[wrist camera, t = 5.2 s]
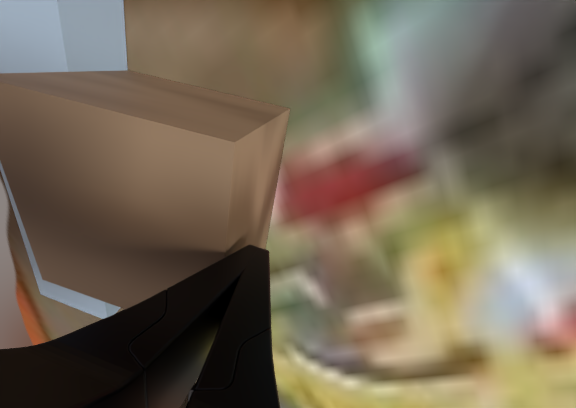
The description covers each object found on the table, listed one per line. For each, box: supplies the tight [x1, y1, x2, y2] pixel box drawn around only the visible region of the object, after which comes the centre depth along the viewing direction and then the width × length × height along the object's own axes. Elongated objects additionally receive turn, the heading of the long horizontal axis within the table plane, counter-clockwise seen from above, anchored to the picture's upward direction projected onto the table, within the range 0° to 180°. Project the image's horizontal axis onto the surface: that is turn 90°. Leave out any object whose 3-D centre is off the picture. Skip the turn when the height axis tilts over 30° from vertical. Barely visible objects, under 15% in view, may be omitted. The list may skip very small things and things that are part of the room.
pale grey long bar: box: [0, 0, 127, 319], centre depth 14 cm, size 22×5×3 cm, turn 168°
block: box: [0, 70, 290, 309], centre depth 12 cm, size 8×8×6 cm
